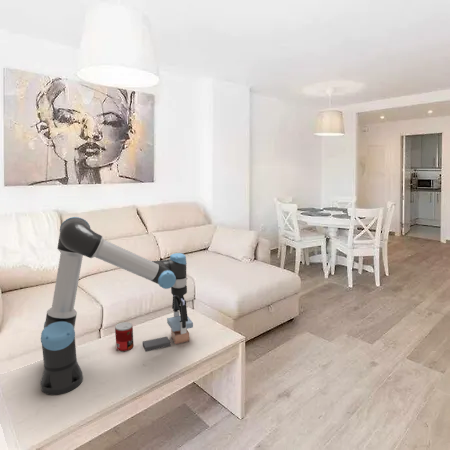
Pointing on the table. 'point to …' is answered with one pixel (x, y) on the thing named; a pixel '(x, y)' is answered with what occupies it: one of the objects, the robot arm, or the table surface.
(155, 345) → the block
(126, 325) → the canned food
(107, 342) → the table surface
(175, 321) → the blue square slab
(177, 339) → the open box
